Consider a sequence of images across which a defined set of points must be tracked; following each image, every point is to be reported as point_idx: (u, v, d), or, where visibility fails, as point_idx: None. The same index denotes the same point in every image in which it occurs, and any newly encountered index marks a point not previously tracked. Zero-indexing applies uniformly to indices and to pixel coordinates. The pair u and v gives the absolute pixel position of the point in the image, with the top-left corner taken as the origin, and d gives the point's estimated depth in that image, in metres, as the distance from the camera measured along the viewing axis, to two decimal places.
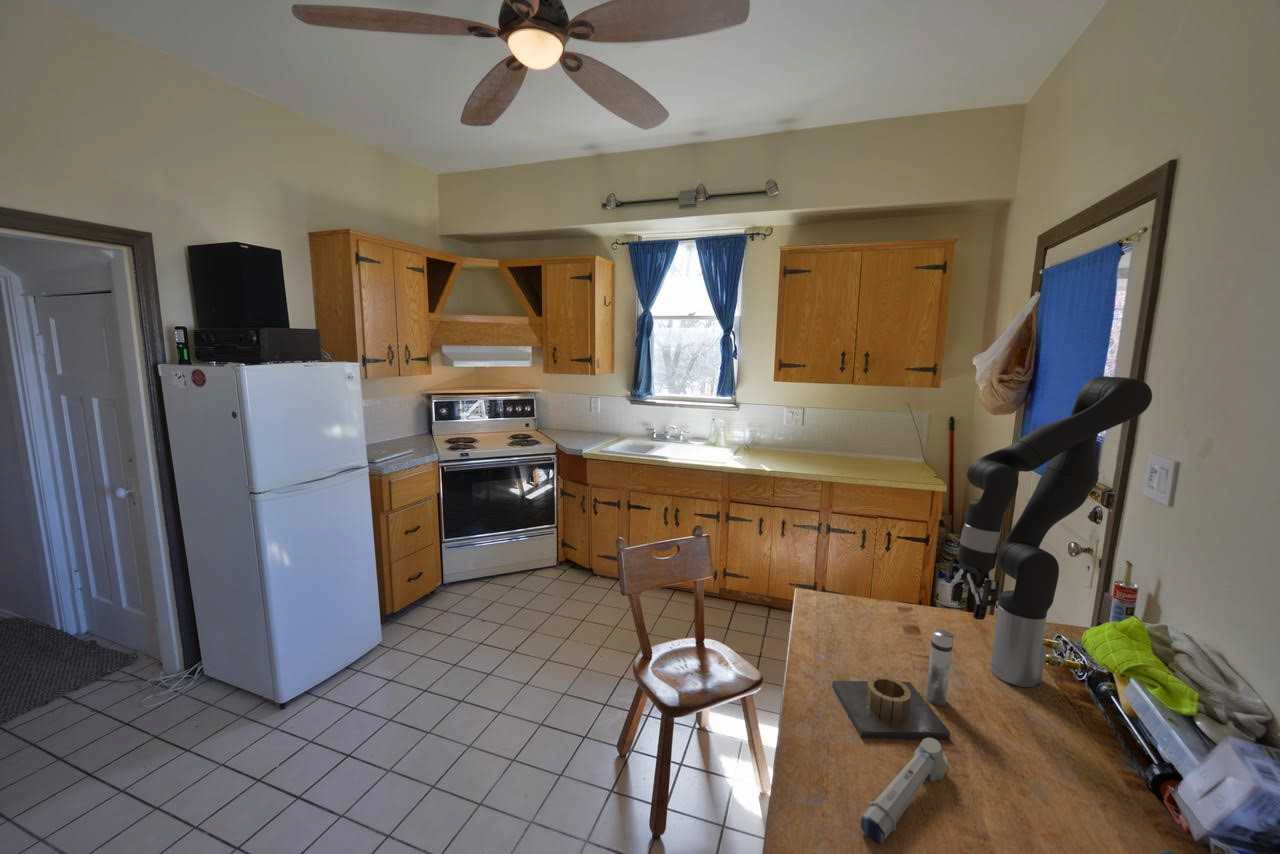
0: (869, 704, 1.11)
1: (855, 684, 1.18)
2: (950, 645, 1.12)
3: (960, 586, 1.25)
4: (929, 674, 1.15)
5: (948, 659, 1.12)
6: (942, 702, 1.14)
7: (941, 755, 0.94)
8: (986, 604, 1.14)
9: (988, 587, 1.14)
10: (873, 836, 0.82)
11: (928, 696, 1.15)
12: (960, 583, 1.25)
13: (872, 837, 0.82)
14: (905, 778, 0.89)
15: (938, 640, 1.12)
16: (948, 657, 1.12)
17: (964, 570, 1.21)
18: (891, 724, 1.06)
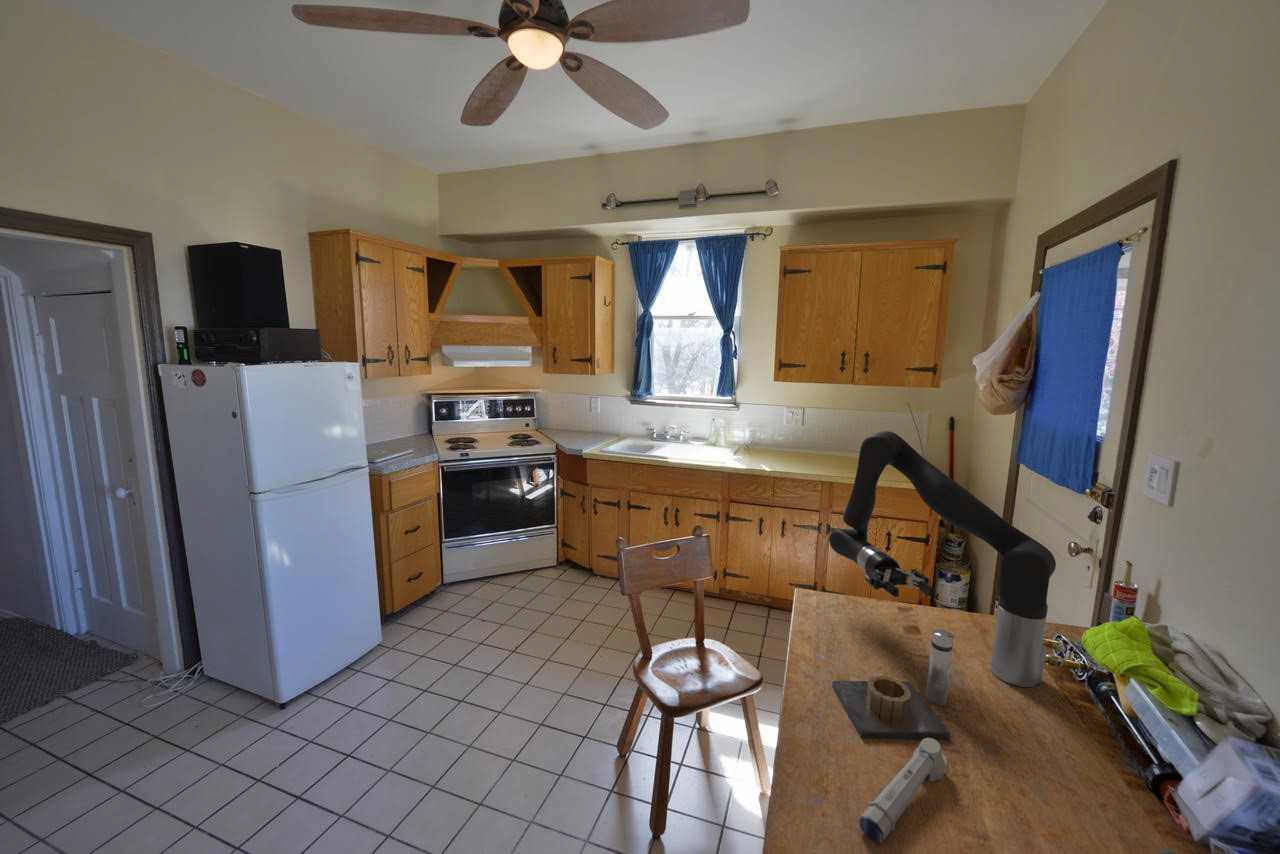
0: (869, 704, 1.11)
1: (855, 684, 1.18)
2: (950, 645, 1.12)
3: (919, 583, 1.28)
4: (929, 674, 1.15)
5: (948, 659, 1.12)
6: (942, 702, 1.14)
7: (940, 755, 0.94)
8: (874, 587, 1.28)
9: (867, 580, 1.32)
10: (872, 836, 0.82)
11: (928, 696, 1.15)
12: (918, 582, 1.28)
13: (871, 837, 0.82)
14: (904, 778, 0.89)
15: (938, 640, 1.12)
16: (948, 657, 1.12)
17: None
18: (891, 724, 1.06)
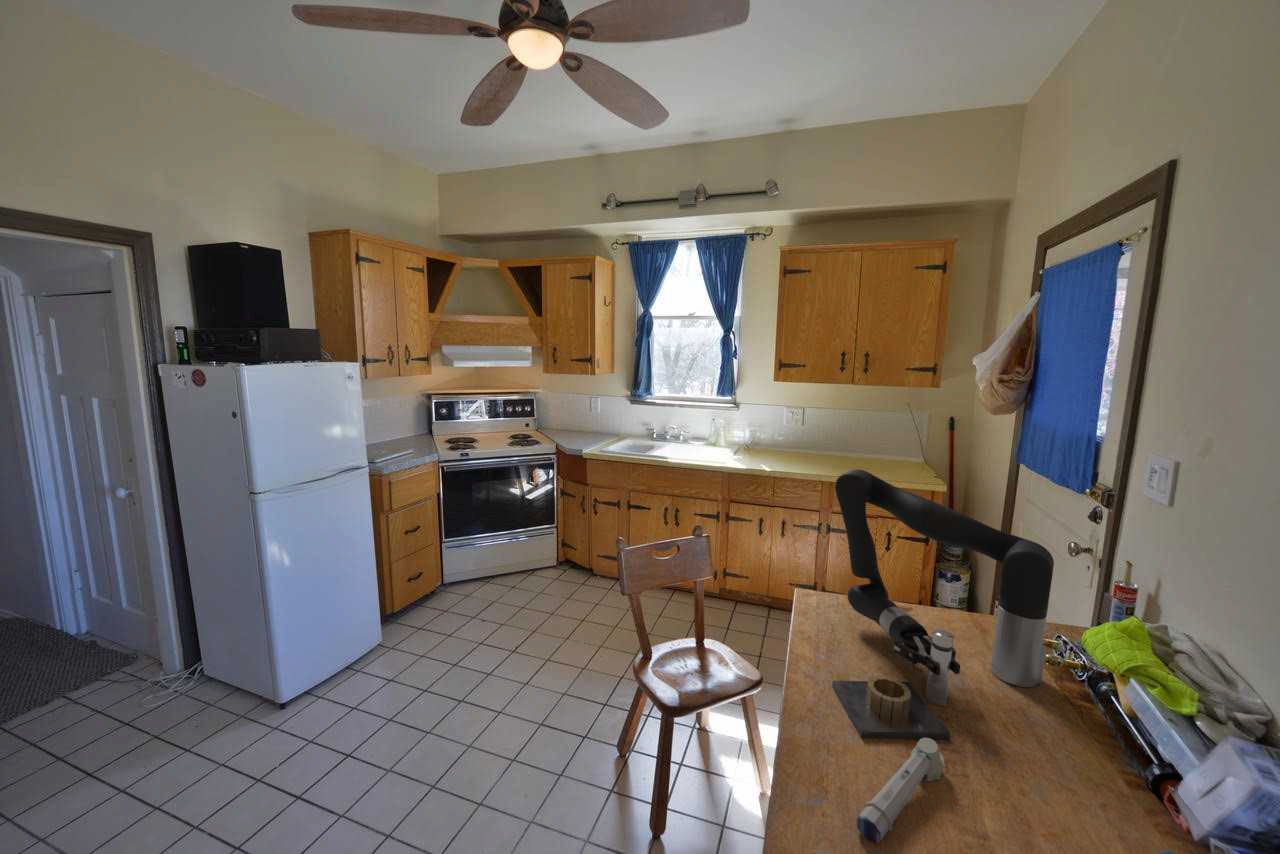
0: (869, 704, 1.11)
1: (855, 684, 1.18)
2: (950, 645, 1.12)
3: None
4: (929, 674, 1.15)
5: (948, 659, 1.12)
6: (942, 702, 1.14)
7: (938, 755, 0.94)
8: (912, 661, 1.16)
9: (898, 653, 1.20)
10: (869, 836, 0.82)
11: (928, 696, 1.15)
12: None
13: (868, 837, 0.82)
14: (901, 778, 0.89)
15: (938, 640, 1.12)
16: (948, 657, 1.12)
17: None
18: (891, 724, 1.06)
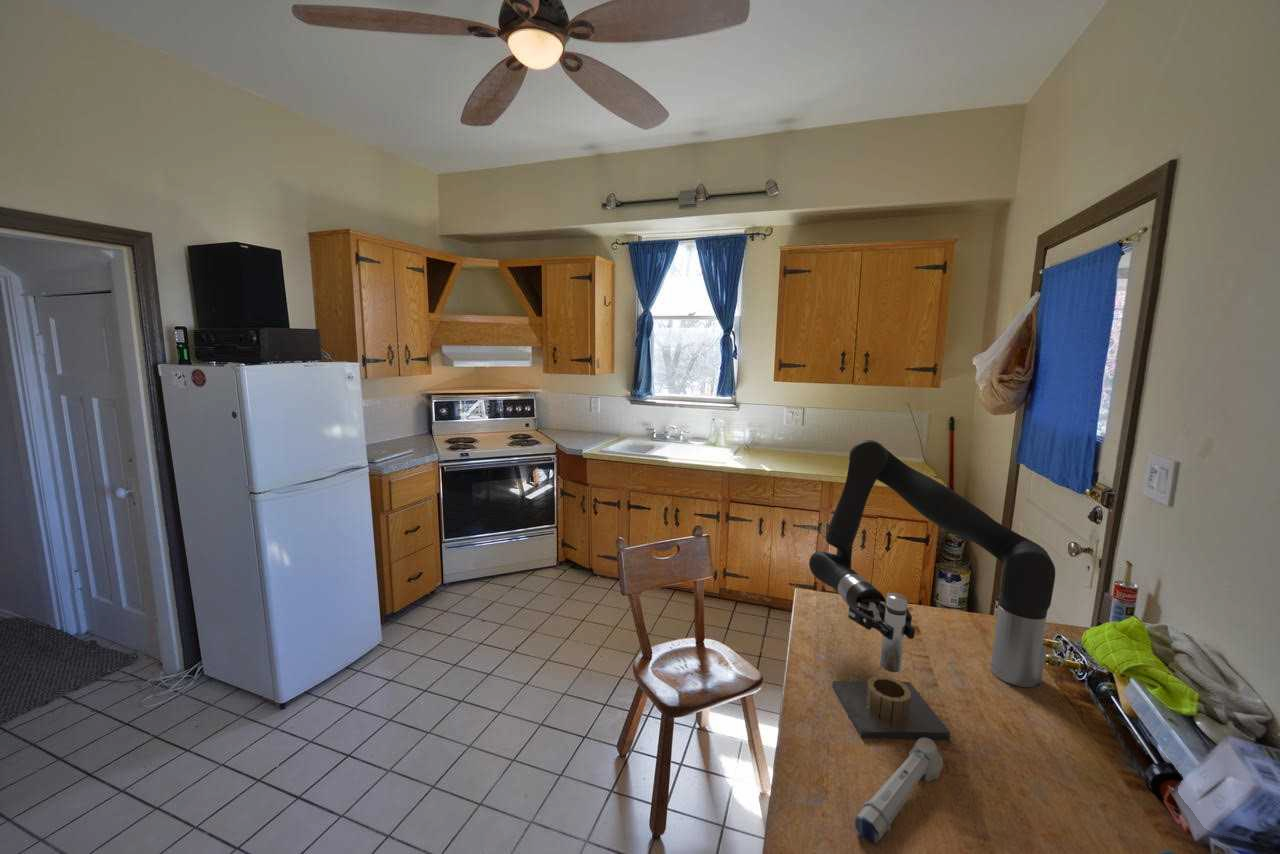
0: (869, 704, 1.11)
1: (855, 684, 1.18)
2: (904, 608, 1.06)
3: None
4: (883, 640, 1.09)
5: (901, 623, 1.07)
6: (896, 669, 1.08)
7: (936, 755, 0.94)
8: (866, 627, 1.11)
9: (852, 619, 1.14)
10: (868, 836, 0.82)
11: (882, 663, 1.10)
12: None
13: (867, 837, 0.82)
14: (899, 778, 0.89)
15: (892, 603, 1.07)
16: (902, 621, 1.07)
17: None
18: (891, 724, 1.06)
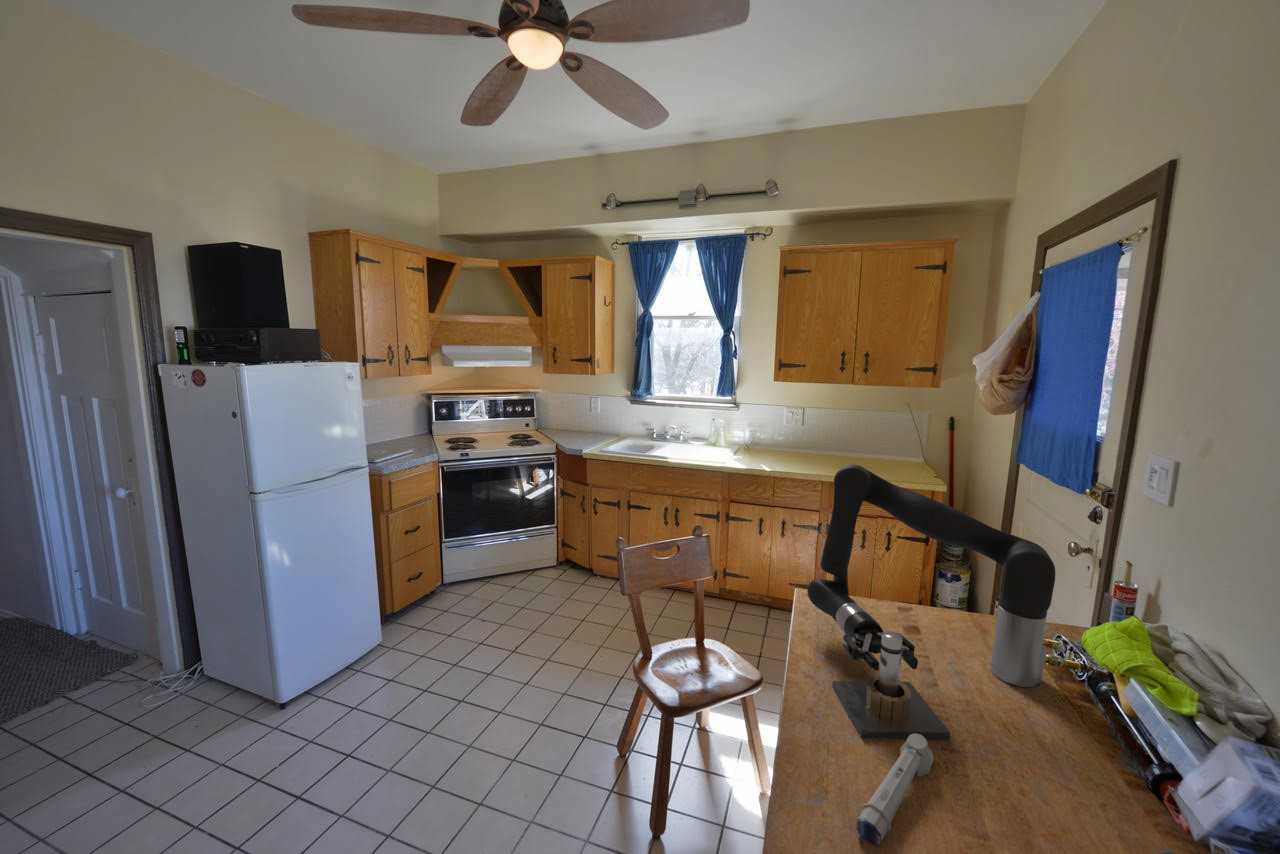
0: (869, 704, 1.11)
1: (855, 684, 1.18)
2: (899, 647, 1.08)
3: (904, 652, 1.12)
4: (879, 678, 1.11)
5: (897, 662, 1.08)
6: None
7: (927, 750, 0.95)
8: (852, 657, 1.12)
9: (845, 647, 1.16)
10: (869, 838, 0.82)
11: None
12: (902, 651, 1.13)
13: (868, 839, 0.82)
14: (896, 777, 0.89)
15: (887, 642, 1.08)
16: (897, 660, 1.08)
17: None
18: (891, 724, 1.06)
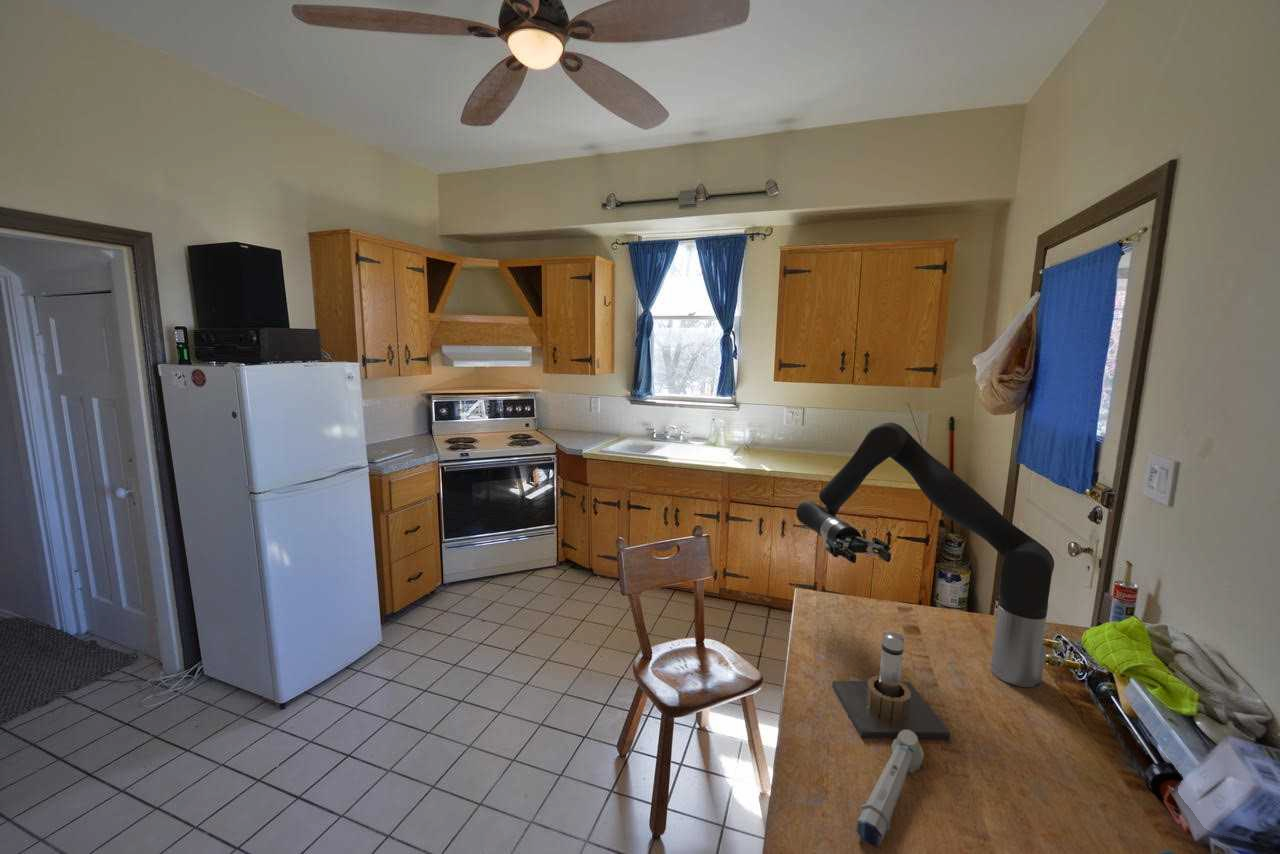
0: (869, 704, 1.11)
1: (855, 684, 1.18)
2: (900, 648, 1.08)
3: (879, 550, 1.26)
4: (880, 678, 1.11)
5: (898, 663, 1.08)
6: None
7: (918, 745, 0.96)
8: (833, 555, 1.26)
9: (827, 549, 1.30)
10: (870, 840, 0.81)
11: None
12: (878, 549, 1.27)
13: (869, 841, 0.82)
14: (891, 775, 0.89)
15: (888, 643, 1.08)
16: (898, 661, 1.08)
17: None
18: (891, 724, 1.06)
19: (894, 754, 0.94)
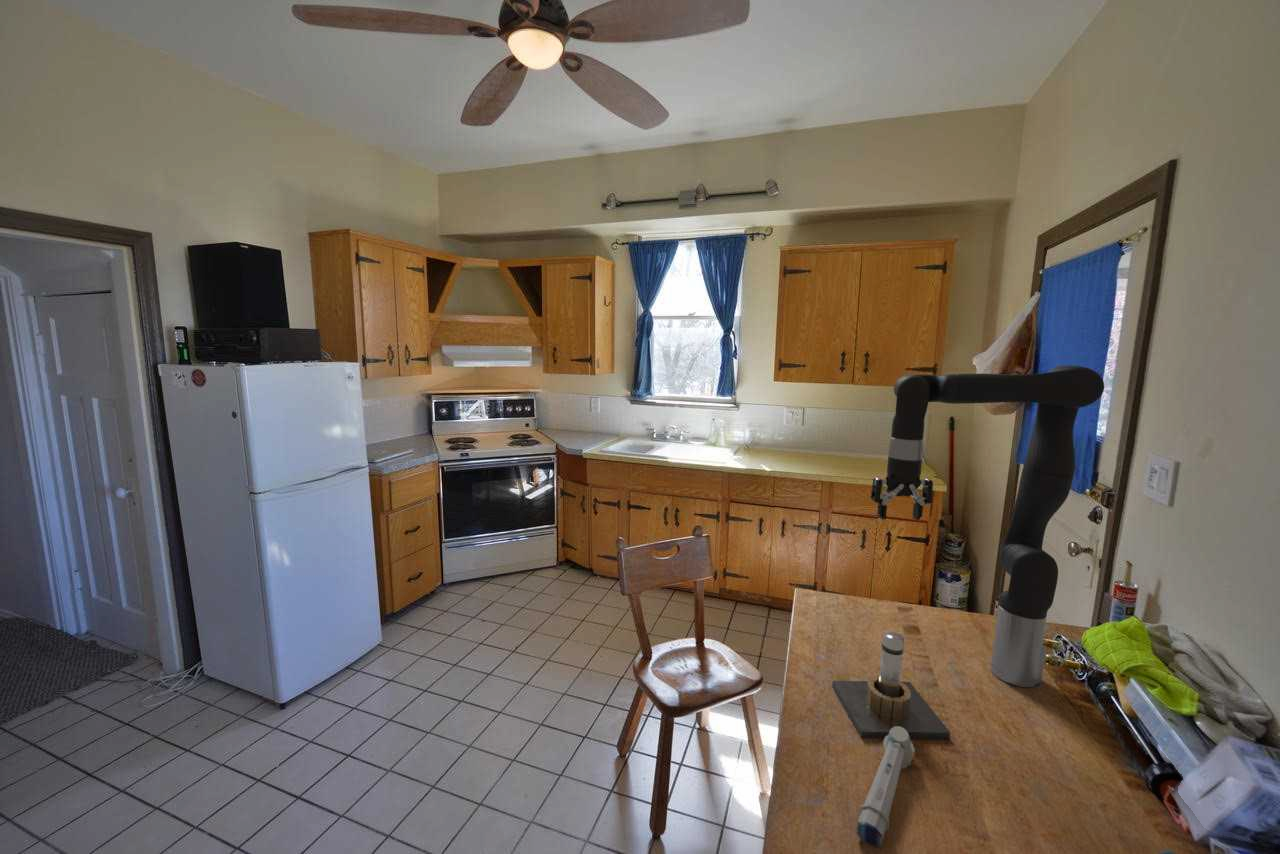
0: (869, 704, 1.11)
1: (855, 684, 1.18)
2: (900, 648, 1.08)
3: (917, 504, 1.28)
4: (880, 678, 1.11)
5: (898, 662, 1.08)
6: None
7: (909, 741, 0.97)
8: (871, 498, 1.29)
9: (873, 483, 1.29)
10: (871, 841, 0.81)
11: None
12: None
13: (869, 842, 0.81)
14: (886, 773, 0.90)
15: (888, 643, 1.08)
16: (898, 661, 1.08)
17: None
18: (891, 724, 1.06)
19: (887, 752, 0.94)
